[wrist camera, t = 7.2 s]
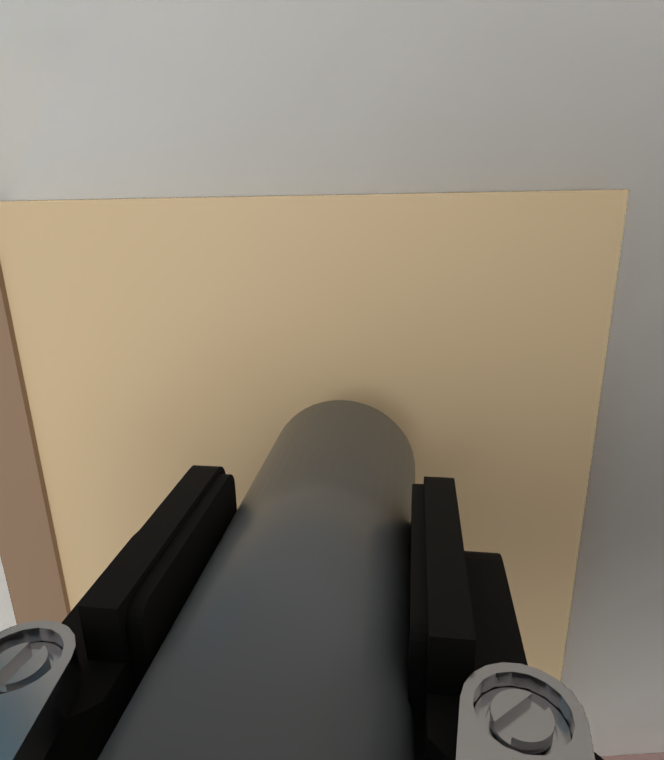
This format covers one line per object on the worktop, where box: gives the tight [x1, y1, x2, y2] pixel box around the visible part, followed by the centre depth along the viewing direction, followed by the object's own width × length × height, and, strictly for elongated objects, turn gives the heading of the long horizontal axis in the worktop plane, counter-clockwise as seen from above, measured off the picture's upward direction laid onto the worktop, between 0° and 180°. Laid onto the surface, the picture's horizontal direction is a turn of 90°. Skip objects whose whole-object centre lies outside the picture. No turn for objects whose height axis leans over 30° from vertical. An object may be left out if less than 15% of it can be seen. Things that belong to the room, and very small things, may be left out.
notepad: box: [0, 190, 629, 682], centre depth 18 cm, size 18×24×1 cm
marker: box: [97, 400, 415, 760], centre depth 8 cm, size 4×4×12 cm
